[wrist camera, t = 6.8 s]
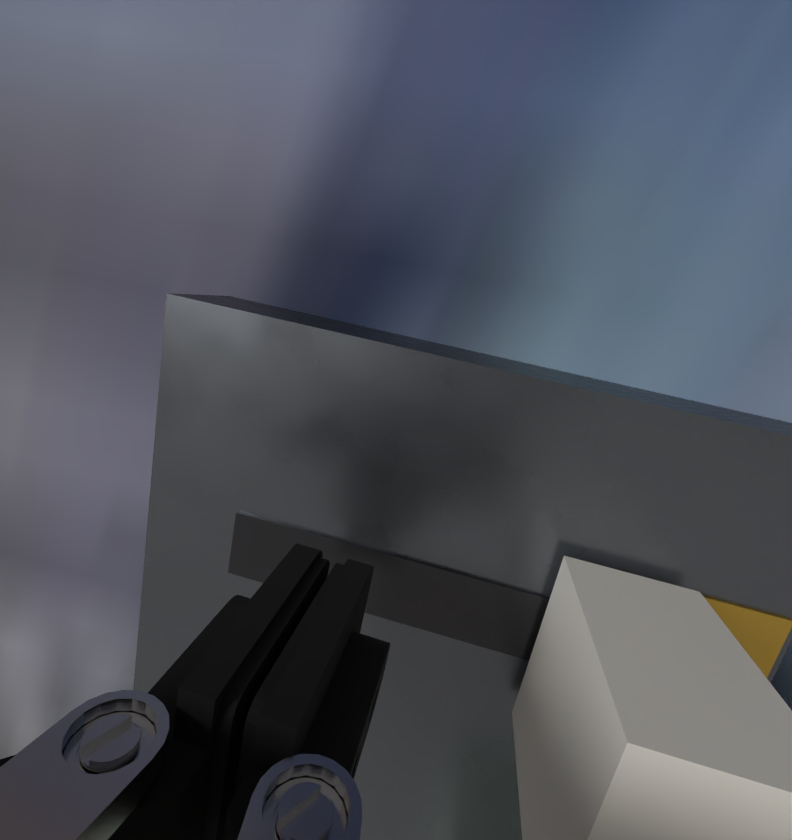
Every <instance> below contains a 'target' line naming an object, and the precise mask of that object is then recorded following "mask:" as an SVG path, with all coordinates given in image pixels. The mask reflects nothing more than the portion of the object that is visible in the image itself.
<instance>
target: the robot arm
mask: <svg viewBox="0 0 792 840" xmlns="http://www.w3.org/2000/svg"><path fill="white" fill-rule="evenodd" d="M322 557H323V552H322V550H318V549H315V548H312V547H308V546H305V545H301V544H298V543H297V544H295V545H294V546H293V547H292V549H291V550H290V551H289V552H288V553H287V555H286V556H285V557H284V558H283V560H282V561H281V562H280V563H279V564H278V566H277V567H276V568H275V569H274V571H273V572H272V573H271V574H270V575H269V577H268V578H267V579H266V580H265V582H264V583H263V584H262V585H261V586H260V588H259V589H258V590H257V591H256V593H255V594H254V595H253V596H252V597H251V599H250V598H247V597H244V596H241V595H236V596H234V597H233V598H231V599H230V600H229V601H228V602H227V604H226V605H225V606H224V607H223V608H222V609H221V610H220V612H219V613H218V614H217V615H216V616H215V617H214V618H213V619H212V621H211V622H210V623H209V624H208V625H207V626H206V627H205V628H204V630H203V631H202V632H201V633H200V634H199V635H198V636H197V638H196V639H195V640H194V641H193V642H192V643H191V644H190V645H189V647H188V648H187V649H186V650H185V651H184V652H183V653H182V654H181V656H180V657H179V658H178V659H177V660H176V661H175V662H174V664H173V665H172V666H171V667H170V668H169V669H168V670H167V671H166V673H165V674H164V675H163V676H162V677H161V678H160V679H159V680H158V682H157V683H156V684H155V685H154V686H153V687H152V688H151V690H150V691H149V692H148V693H145V692H142V691H135V690H120V691H115V692H109V693H105V694H102V695H100V696H97V697H95V698H92V699H90V700H88V701H86V702H85V703H83V704H81V705H80V706H78V707H77V708H75V709H74V710H72V711H71V712H70V713H68V714H67V715H66V716H65V717H63V718H62V719H61V720H59V721H58V722H57V723H56V724H54V725H53V726H52V727H51V728H49V729H48V730H47V731H45V732H44V733H43V734H42V735H40V736H39V737H38V738H37V739H35V740H34V741H33V742H32V743H30V744H29V745H28V746H26V747H25V748H24V749H23V750H21V751H20V752H19V753H18V754H16V755H14V756H10V757H7V758H4V759H1V760H0V840H360V833H361V824H362V799H361V796H360V794H359V791H358V788H357V785H356V782H355V781H354V777H355V773H356V770H357V767H358V763H359V760H360V756H361V753H362V750H363V746H364V743H365V740H366V736H367V733H368V730H369V726H370V723H371V719H372V716H373V712H374V709H375V705H376V701H377V698H378V694H379V690H380V686H381V683H382V679H383V674H384V670H385V666H386V662H387V658H388V654H389V649H390V643H389V642H386V641H383V640H379V639H376V638H373V637H370V636H367V635H364V634H361V633H360V631H361V626H362V622H363V617H364V613H365V608H366V603H367V599H368V594H369V589H370V585H371V580H372V576H373V570H374V566H372V565H369V564H366V563H362V562H359V561H355V560H352V559H347V561H346V563H345V564H344V565H343V564H340V563H336V564H335V565H334V567H333V568H332V570H331V572H330V573H329V575H328V571H329V565H330V561H329V560H327V559H323V558H322ZM327 576H328V577H327Z"/></svg>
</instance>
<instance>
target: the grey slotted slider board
mask: <svg viewBox="0 0 792 840" xmlns="http://www.w3.org/2000/svg"><path fill="white" fill-rule="evenodd" d="M297 543H298V544H301V545H305V546H308V547H312V548H315V549H318V550H322V552H323V557H322V558H323V559H327V560H329V561H330V565H329V571H328V575H329V573H330V572H331V570H332V568H333V567H334V565H335V564H336V563H340V564H343V565H344V564H345V563H346V561H347V559H352V560H355V561H359V562H362V563H366V564H369V565H372V566H374V570H373V576H372V580H371V585H370V589H369V594H368V599H367V603H366V608H365V613H364V617H363V622H362V626H361V631H360V633H361V634H364V635H367V636H370V637H373V638H376V639H379V640H383V641H386V642H389V643H390V649H389V654H388V658H387V662H386V666H385V670H384V674H383V679H382V683H381V686H380V690H379V694H378V698H377V701H376V705H375V709H374V712H373V716H372V719H371V723H370V726H369V730H368V733H367V736H366V740H365V743H364V746H363V750H362V753H361V756H360V760H359V763H358V767H357V770H356V773H355V777H354V781H355V782H356V785H357V788H358V791H359V794H360V796H361V799H362V824H361V833H360V840H522V830H521V817H520V805H519V792H518V780H517V767H516V755H515V742H514V730H513V718H512V711H513V708H514V705H515V702H516V699H517V696H518V693H519V690H520V687H521V684H522V681H523V678H524V675H525V672H526V669H527V666H528V663H529V660H530V657H531V654H532V651H533V648H534V645H535V641H536V638H537V635H538V632H539V629H540V626H541V623H542V620H543V617H544V614H545V611H546V608H547V605H548V602H549V599H550V596H551V593H552V590H553V587H554V584H555V581H556V578H557V575H558V572H559V569H560V566H561V563H562V560H563V557H564V556H568V557H572V558H575V559H579V560H583V561H587V562H590V563H594V564H598V565H601V566H605V567H609V568H613V569H616V570H620V571H624V572H628V573H631V574H635V575H639V576H643V577H646V578H650V579H654V580H658V581H661V582H665V583H669V584H673V585H676V586H680V587H684V588H688V589H691V590H695V591H699V592H700V593H701V594H702V595H703V597H704V598H705V599H706V600H707V602H708V603H709V604H710V606H711V607H712V608H713V609H714V611H715V612H716V613H717V615H718V616H719V617H720V619H721V620H722V621H723V622H724V624H725V625H726V626H727V628H728V629H729V630H730V631H731V633H732V634H733V635H734V637H735V638H736V639H737V641H738V642H739V643H740V644H741V646H742V647H743V648H744V650H745V651H746V652H747V653H748V655H749V656H750V657H751V659H752V660H753V661H754V663H755V664H756V665H757V666H758V668H759V669H760V670H761V672H762V673H763V674H764V675H765V677H766V678H767V679H768V681H769V682H770V683H771V682H772V680H773V678H774V676H775V674H776V671H777V669H778V667H779V665H780V663H781V661H782V659H783V657H784V655H785V653H786V651H787V649H788V647H789V645H790V643H791V641H792V423H788V422H784V421H779V420H775V419H770V418H766V417H762V416H757V415H753V414H748V413H744V412H739V411H735V410H731V409H726V408H722V407H717V406H713V405H708V404H704V403H700V402H695V401H691V400H686V399H682V398H677V397H673V396H669V395H664V394H660V393H655V392H651V391H646V390H642V389H638V388H633V387H629V386H624V385H620V384H615V383H611V382H607V381H602V380H598V379H593V378H589V377H584V376H580V375H576V374H571V373H567V372H562V371H558V370H553V369H549V368H545V367H540V366H536V365H531V364H527V363H522V362H518V361H514V360H509V359H505V358H500V357H496V356H491V355H487V354H483V353H478V352H474V351H469V350H465V349H460V348H456V347H452V346H447V345H443V344H438V343H434V342H429V341H425V340H421V339H416V338H412V337H407V336H403V335H398V334H394V333H390V332H385V331H381V330H376V329H372V328H367V327H363V326H359V325H354V324H350V323H345V322H341V321H336V320H332V319H328V318H323V317H319V316H314V315H310V314H305V313H301V312H297V311H292V310H288V309H283V308H279V307H274V306H270V305H266V304H261V303H257V302H252V301H248V300H243V299H239V298H235V297H230V296H214V295H191V294H167V299H166V311H165V323H164V335H163V347H162V358H161V370H160V382H159V394H158V406H157V418H156V429H155V441H154V453H153V465H152V477H151V489H150V501H149V512H148V524H147V536H146V548H145V560H144V572H143V583H142V595H141V607H140V619H139V631H138V643H137V654H136V666H135V678H134V690H135V691H142V692H145V693H148V692H149V691H150V690H151V688H152V687H153V686H154V685H155V684H156V683H157V682H158V680H159V679H160V678H161V677H162V676H163V675H164V674H165V673H166V671H167V670H168V669H169V668H170V667H171V666H172V665H173V664H174V662H175V661H176V660H177V659H178V658H179V657H180V656H181V654H182V653H183V652H184V651H185V650H186V649H187V648H188V647H189V645H190V644H191V643H192V642H193V641H194V640H195V639H196V638H197V636H198V635H199V634H200V633H201V632H202V631H203V630H204V628H205V627H206V626H207V625H208V624H209V623H210V622H211V621H212V619H213V618H214V617H215V616H216V615H217V614H218V613H219V612H220V610H221V609H222V608H223V607H224V606H225V605H226V604H227V602H228V601H229V600H230V599H231V598H233V597H234V596H236V595H241V596H244V597H247V598H250V599H251V597H252V596H253V595H254V594H255V593H256V591H257V590H258V589H259V588H260V586H261V585H262V584H263V583H264V582H265V580H266V579H267V578H268V577H269V575H270V574H271V573H272V572H273V571H274V569H275V568H276V567H277V566H278V564H279V563H280V562H281V561H282V560H283V558H284V557H285V556H286V555H287V553H288V552H289V551H290V550H291V549H292V547H293V546H294V545H295V544H297ZM327 577H328V576H327Z"/></svg>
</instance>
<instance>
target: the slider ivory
mask: <svg viewBox="0 0 792 840" xmlns="http://www.w3.org/2000/svg"><path fill="white" fill-rule="evenodd" d="M512 718H513V730H514V742H515V755H516V767H517V780H518V792H519V805H520V817H521V830H522V840H792V710H791V709H790V708H789V706H788V705H787V704H786V703H785V701H784V700H783V699H782V697H781V696H780V695H779V694H778V692H777V691H776V690H775V688H774V687H773V686H772V685H771V683H770V682H769V681H768V679H767V678H766V677H765V675H764V674H763V673H762V672H761V670H760V669H759V668H758V666H757V665H756V664H755V663H754V661H753V660H752V659H751V657H750V656H749V655H748V653H747V652H746V651H745V650H744V648H743V647H742V646H741V644H740V643H739V642H738V641H737V639H736V638H735V637H734V635H733V634H732V633H731V631H730V630H729V629H728V628H727V626H726V625H725V624H724V622H723V621H722V620H721V619H720V617H719V616H718V615H717V613H716V612H715V611H714V609H713V608H712V607H711V606H710V604H709V603H708V602H707V600H706V599H705V598H704V597H703V595H702V594H701V593H700V592H699V591H695V590H691V589H688V588H684V587H680V586H676V585H673V584H669V583H665V582H661V581H658V580H654V579H650V578H646V577H643V576H639V575H635V574H631V573H628V572H624V571H620V570H616V569H613V568H609V567H605V566H601V565H598V564H594V563H590V562H587V561H583V560H579V559H575V558H572V557H568V556H564V557H563V560H562V563H561V566H560V569H559V572H558V575H557V578H556V581H555V584H554V587H553V590H552V593H551V596H550V599H549V602H548V605H547V608H546V611H545V614H544V617H543V620H542V623H541V626H540V629H539V632H538V635H537V638H536V641H535V645H534V648H533V651H532V654H531V657H530V660H529V663H528V666H527V669H526V672H525V675H524V678H523V681H522V684H521V687H520V690H519V693H518V696H517V699H516V702H515V705H514V708H513V711H512Z"/></svg>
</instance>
